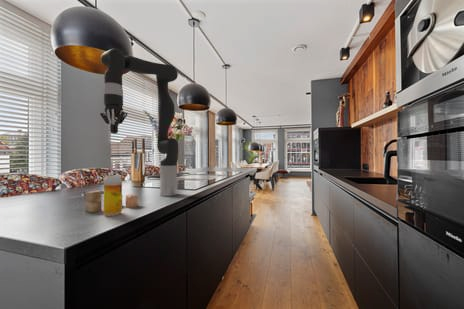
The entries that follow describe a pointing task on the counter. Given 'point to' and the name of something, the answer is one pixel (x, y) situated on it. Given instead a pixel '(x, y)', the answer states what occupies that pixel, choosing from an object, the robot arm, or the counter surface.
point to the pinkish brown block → (131, 201)
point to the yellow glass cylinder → (112, 195)
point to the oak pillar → (93, 201)
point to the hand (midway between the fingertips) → (114, 133)
